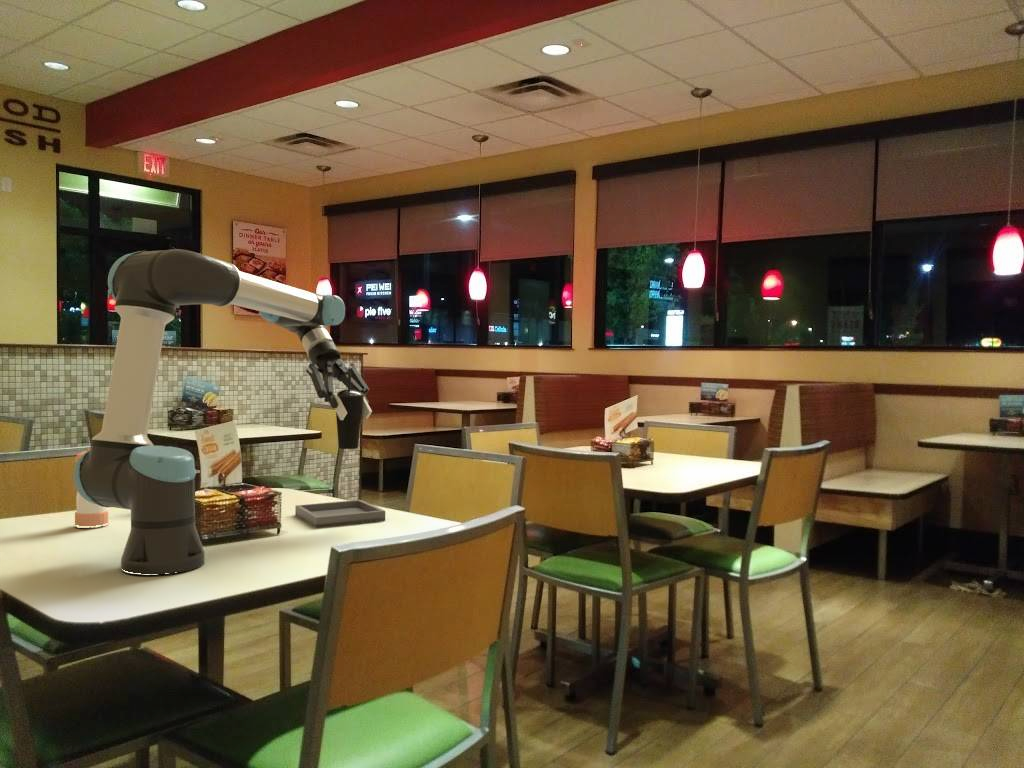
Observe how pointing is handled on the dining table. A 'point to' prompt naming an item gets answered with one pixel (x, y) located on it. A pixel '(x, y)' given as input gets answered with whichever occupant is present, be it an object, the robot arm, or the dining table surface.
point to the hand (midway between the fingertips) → (356, 415)
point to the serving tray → (339, 513)
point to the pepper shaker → (89, 509)
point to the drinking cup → (350, 417)
